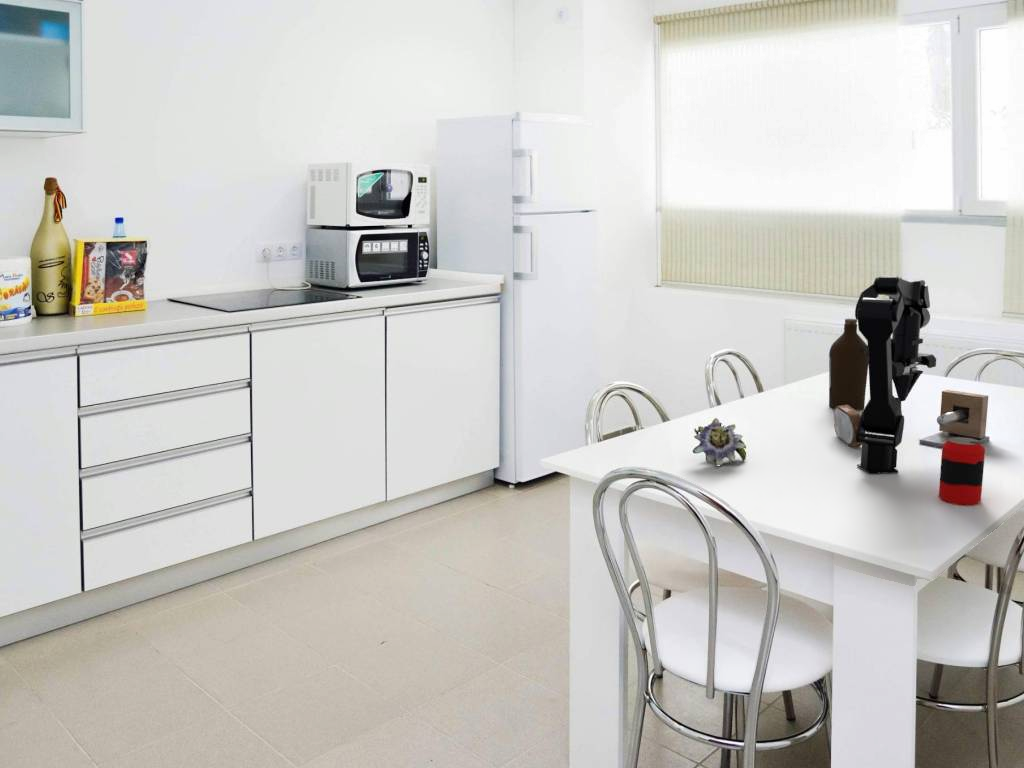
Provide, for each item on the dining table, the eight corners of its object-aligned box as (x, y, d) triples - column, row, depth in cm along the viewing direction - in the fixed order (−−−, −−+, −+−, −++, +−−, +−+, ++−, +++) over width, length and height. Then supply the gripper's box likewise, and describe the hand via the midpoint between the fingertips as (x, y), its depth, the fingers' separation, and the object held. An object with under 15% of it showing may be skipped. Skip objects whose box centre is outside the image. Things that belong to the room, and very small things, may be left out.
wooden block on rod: (979, 438, 227) (983, 397, 225) (939, 430, 234) (942, 391, 233) (984, 436, 228) (988, 395, 226) (944, 429, 236) (947, 389, 234)
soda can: (974, 508, 182) (978, 448, 180) (933, 500, 187) (937, 441, 185) (985, 498, 188) (990, 439, 185) (945, 491, 193) (949, 434, 190)
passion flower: (718, 489, 214) (691, 451, 210) (704, 467, 224) (678, 430, 220) (760, 461, 213) (735, 423, 209) (744, 440, 223) (719, 403, 219)
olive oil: (871, 406, 269) (876, 318, 264) (858, 413, 261) (863, 322, 256) (834, 401, 276) (838, 315, 271) (820, 408, 268) (825, 320, 263)
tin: (864, 449, 225) (866, 415, 223) (850, 450, 225) (852, 415, 223) (843, 434, 239) (845, 401, 238) (830, 434, 239) (832, 401, 238)
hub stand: (960, 451, 221) (963, 405, 219) (919, 443, 229) (922, 398, 227) (989, 440, 230) (992, 396, 228) (948, 433, 238) (951, 390, 236)
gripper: (894, 326, 229) (890, 390, 232) (851, 335, 218) (848, 401, 221) (939, 331, 221) (934, 396, 224) (897, 340, 209) (893, 409, 212)
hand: (901, 400), depth 220 cm, fingers closed
